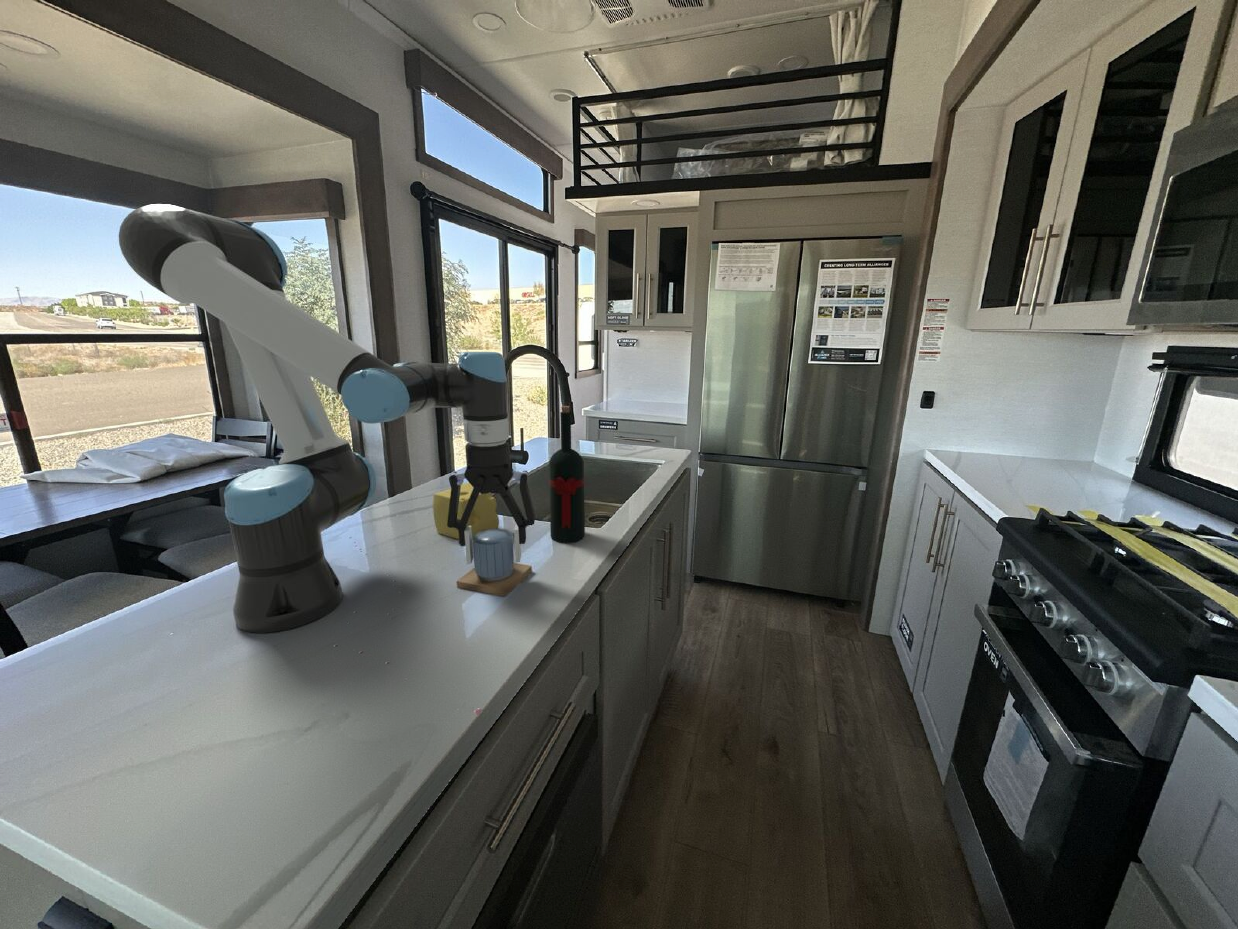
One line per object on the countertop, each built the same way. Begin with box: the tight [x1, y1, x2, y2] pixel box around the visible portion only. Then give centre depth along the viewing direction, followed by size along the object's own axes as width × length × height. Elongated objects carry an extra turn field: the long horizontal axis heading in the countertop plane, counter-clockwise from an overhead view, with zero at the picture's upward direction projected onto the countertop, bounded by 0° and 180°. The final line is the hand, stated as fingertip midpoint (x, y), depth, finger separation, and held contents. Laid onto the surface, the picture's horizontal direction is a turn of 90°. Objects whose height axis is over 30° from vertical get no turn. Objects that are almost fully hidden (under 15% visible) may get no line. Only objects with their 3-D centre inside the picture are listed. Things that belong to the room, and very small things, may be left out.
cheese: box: [432, 481, 500, 540], centre depth 114 cm, size 10×11×10 cm
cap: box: [472, 528, 515, 578], centre depth 91 cm, size 7×7×6 cm
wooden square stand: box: [456, 562, 533, 597], centre depth 92 cm, size 10×10×7 cm
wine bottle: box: [548, 405, 586, 544], centre depth 107 cm, size 8×10×30 cm
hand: (494, 559), depth 92 cm, fingers open, 8 cm apart
